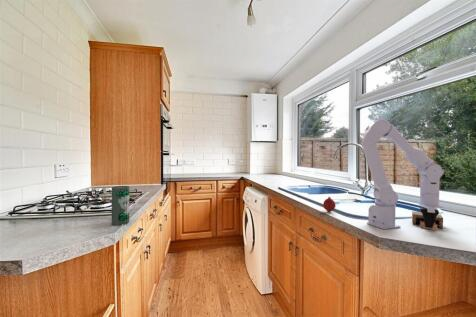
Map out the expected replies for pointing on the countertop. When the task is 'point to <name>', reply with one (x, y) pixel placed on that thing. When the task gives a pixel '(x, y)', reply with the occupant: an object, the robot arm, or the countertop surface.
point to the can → (120, 205)
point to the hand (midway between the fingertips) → (428, 227)
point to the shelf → (419, 216)
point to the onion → (329, 204)
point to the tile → (427, 227)
